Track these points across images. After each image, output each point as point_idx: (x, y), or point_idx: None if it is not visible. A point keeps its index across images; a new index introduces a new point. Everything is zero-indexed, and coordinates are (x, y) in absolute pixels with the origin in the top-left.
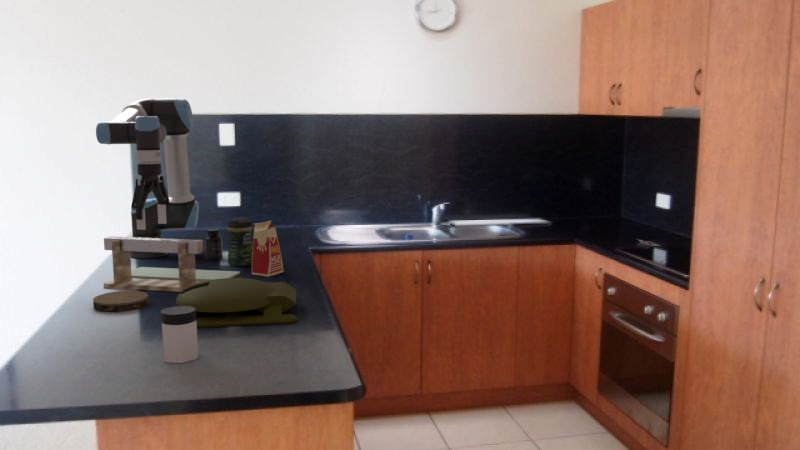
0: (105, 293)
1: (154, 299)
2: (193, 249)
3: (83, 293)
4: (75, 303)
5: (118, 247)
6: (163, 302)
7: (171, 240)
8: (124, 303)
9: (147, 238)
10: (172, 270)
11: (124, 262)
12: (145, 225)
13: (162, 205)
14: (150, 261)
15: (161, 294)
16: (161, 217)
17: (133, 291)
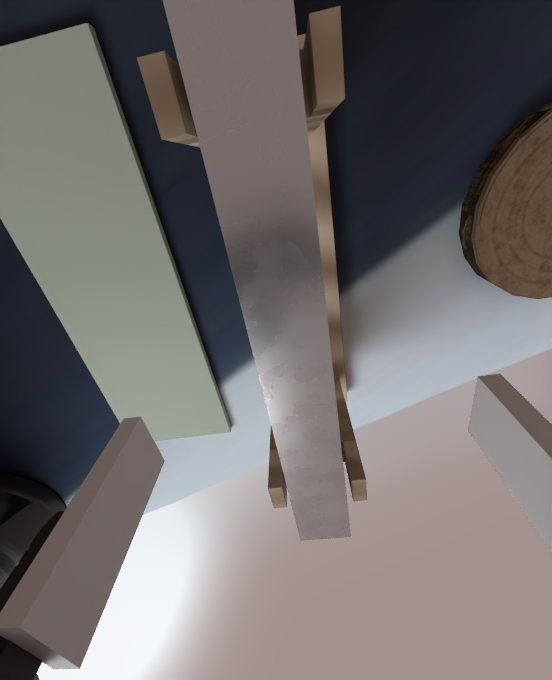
0: (520, 295)
1: (457, 142)
2: None
3: (413, 396)
4: (523, 348)
5: (358, 454)
6: (504, 60)
7: (290, 216)
8: None
9: (285, 402)
10: (106, 349)
11: None
12: (501, 400)
13: (44, 631)
14: (59, 465)
15: (378, 172)
16: (131, 486)
17: (484, 223)
